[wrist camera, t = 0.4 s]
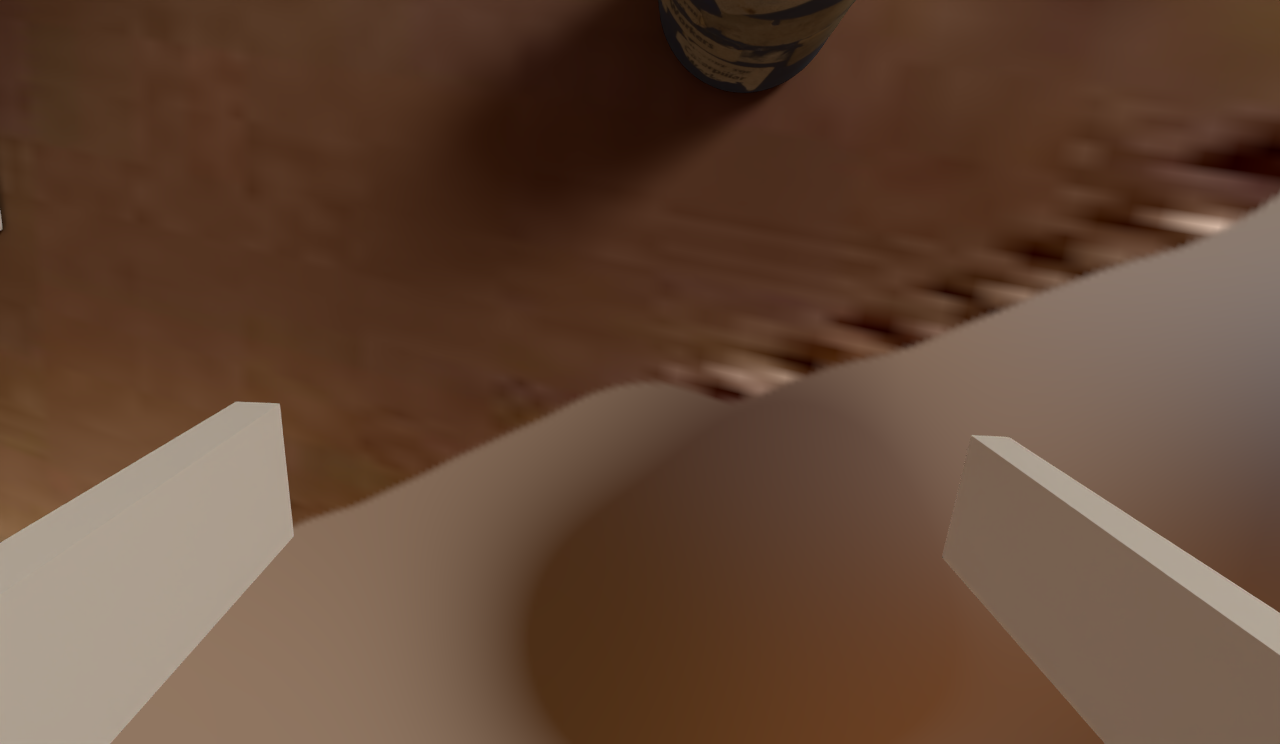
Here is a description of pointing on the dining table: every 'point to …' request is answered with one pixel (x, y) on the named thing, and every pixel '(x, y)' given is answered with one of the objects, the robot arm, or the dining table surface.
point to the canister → (748, 38)
